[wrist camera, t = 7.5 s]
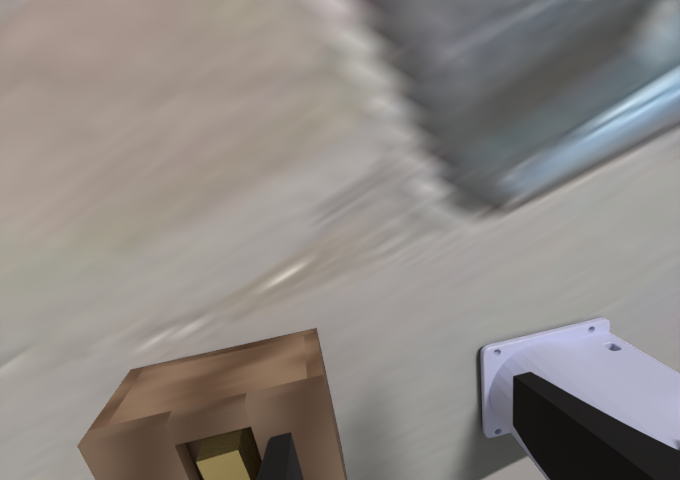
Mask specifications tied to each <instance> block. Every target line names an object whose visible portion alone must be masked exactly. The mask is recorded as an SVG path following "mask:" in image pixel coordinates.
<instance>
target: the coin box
mask: <svg viewBox="0 0 680 480" xmlns="http://www.w3.org/2000/svg"><path fill="white" fill-rule="evenodd" d="M247 427H251V428H252V431H253V434H254V438H255V441H256V444H257V447H258V450H259V453H260V457H261V460H263V457H264V454H265V450H266V446H267V443H268V440H269V439H270V438H271V437H274V436H277V435H281V434H285V433H289V432H291V434H292V438H293V441H294V445H295V449H296V453H297V456H298V460H299V464H300V467H301V471H302V475H303V479H304V480H347V476H346V470H345V464H344V459H343V453H342V447H341V442H340V438H339V433H338V428H337V423H336V419H335V414H334V409H333V404H332V400H331V395H330V390H329V385H328V381H327V376H326V371H325V366H324V362H323V357H322V352H321V347H320V342H319V338H318V333H317V328H315V329H311V330H306V331H302V332H297V333H293V334H288V335H284V336H279V337H275V338H270V339H266V340H262V341H257V342H253V343H248V344H244V345H239V346H235V347H230V348H226V349H221V350H217V351H212V352H208V353H203V354H199V355H194V356H190V357H186V358H181V359H177V360H172V361H168V362H163V363H159V364H154V365H150V366H145V367H141V368H136V369H132V370H130V372H129V373H128V374H127V376H126V377H125V379H124V380H123V381H122V383H121V384H120V386H119V387H118V389H117V390H116V391H115V393H114V394H113V396H112V397H111V399H110V400H109V401H108V403H107V404H106V406H105V407H104V409H103V410H102V411H101V413H100V414H99V416H98V417H97V418H96V420H95V421H94V423H93V424H92V426H91V427H90V428H89V430H88V431H87V433H86V434H85V436H84V437H83V438H82V440H81V441H80V443H79V444H78V446H77V447H78V448H79V450H80V452H81V454H82V456H83V458H84V459H85V461H86V463H87V465H88V467H89V469H90V470H91V472H92V474H93V476H94V478H95V480H204V478H203V476H202V474H201V472H200V470H199V468H198V465H197V463H196V461H197V457H198V454H199V450H200V447H201V444H202V440H203V438H207V437H211V436H215V435H219V434H223V433H227V432H231V431H235V430H239V429H243V428H247Z"/></svg>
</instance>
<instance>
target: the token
mask: <svg viewBox="0 0 680 480" xmlns="http://www.w3.org/2000/svg"><path fill="white" fill-rule="evenodd" d="M196 463H197V465H198V468H199V470H200V472H201V474H202V476H203V478H204V480H256V479H257V476H258V473H259V470H260V467H261V463H262V460H261V457H260V453H259V450H258V447H257V444H256V441H255V438H254V434H253V431H252V428H251V427H247V428H243V429H239V430H235V431H231V432H227V433H223V434H219V435H215V436H211V437H207V438H203V440H202V444H201V447H200V450H199V454H198V457H197V461H196Z"/></svg>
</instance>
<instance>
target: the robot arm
mask: <svg viewBox="0 0 680 480" xmlns="http://www.w3.org/2000/svg"><path fill="white" fill-rule="evenodd" d="M609 330H610V322H609V321H608V320H607V319H605V318H597V319H593V320H589V321H585V322H581V323H577V324H572V325H568V326H564V327H560V328H556V329H552V330H547V331H543V332H539V333H535V334H531V335H527V336H523V337H518V338H514V339H510V340H506V341H502V342H498V343H494V344H489V345H486V346H484V347H483V348H482V349H481V386H482V420H483V433H484V434H485V436H486V437H487V438H493V437H497V436H501V435H504V434H508V433H512V435H513V436H514V437H515V439H516V440H517V441H518V443H519V444H520V445H521V447H522V448H523V449H524V450H525V452H526V453H527V454H528V456H529V457H530V458H531V460H532V461H533V462H534V463H535V465H536V466H537V467H538V469H539V470H540V471H541V473H542V474H543V475H544V477H545V478H546V479H547V480H680V374H679V373H678V372H676V371H674V370H673V369H671V368H669V367H667V366H666V365H664V364H662V363H661V362H659V361H657V360H656V359H654V358H652V357H651V356H649V355H647V354H645V353H644V352H642V351H640V350H639V349H637V348H635V347H634V346H632V345H630V344H628V343H627V342H625V341H623V340H622V339H620V338H618V337H617V336H615V335H613V334H612V333H610V332H609ZM495 350H496V352H494V351H495ZM256 480H304V479H303V475H302V471H301V467H300V464H299V460H298V456H297V453H296V449H295V445H294V441H293V438H292V434H291V432H289V433H285V434H281V435H277V436H274V437H271V438H270V439H269V440H268V443H267V446H266V450H265V454H264V457H263V460H262V463H261V467H260V470H259V473H258V476H257V479H256Z"/></svg>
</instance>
